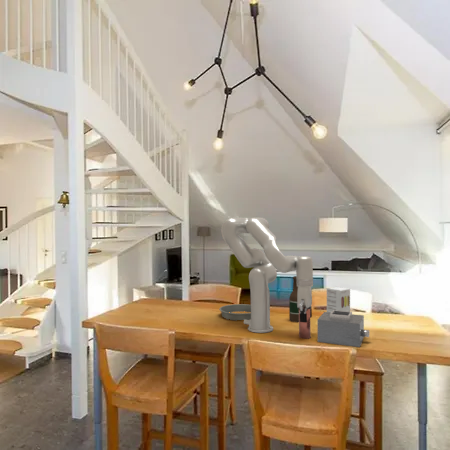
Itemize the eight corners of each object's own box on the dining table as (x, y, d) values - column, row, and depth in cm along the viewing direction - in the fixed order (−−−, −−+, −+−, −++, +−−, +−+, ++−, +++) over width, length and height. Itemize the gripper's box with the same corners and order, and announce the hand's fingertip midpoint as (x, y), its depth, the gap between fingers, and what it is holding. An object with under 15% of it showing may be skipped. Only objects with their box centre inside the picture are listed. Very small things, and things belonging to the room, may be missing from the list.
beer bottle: (302, 318, 212) (301, 275, 212) (305, 322, 204) (305, 277, 204) (288, 318, 212) (287, 275, 212) (290, 322, 204) (290, 277, 204)
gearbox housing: (317, 341, 172) (317, 315, 171) (324, 332, 186) (324, 307, 186) (367, 348, 163) (367, 319, 162) (370, 337, 177) (370, 311, 177)
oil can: (297, 337, 178) (297, 305, 178) (300, 334, 183) (300, 303, 182) (309, 339, 176) (308, 306, 175) (311, 336, 180) (311, 304, 180)
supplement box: (340, 322, 205) (340, 290, 205) (326, 318, 212) (325, 288, 212) (350, 319, 211) (350, 288, 211) (336, 315, 218) (336, 286, 218)
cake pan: (270, 319, 213) (270, 310, 213) (229, 323, 204) (229, 315, 204) (250, 309, 236) (250, 302, 236) (213, 313, 227) (213, 305, 227)
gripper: (301, 280, 188) (302, 315, 188) (291, 285, 173) (293, 323, 172) (316, 280, 185) (317, 316, 185) (308, 286, 169) (309, 324, 169)
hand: (305, 319), depth 179 cm, fingers open, 9 cm apart
